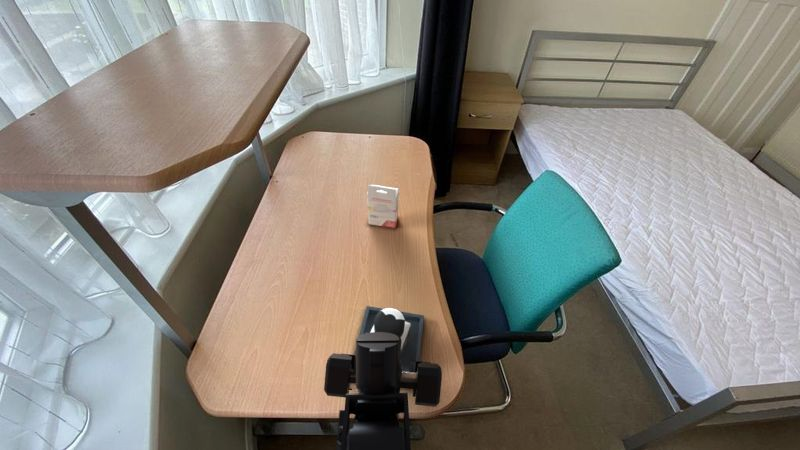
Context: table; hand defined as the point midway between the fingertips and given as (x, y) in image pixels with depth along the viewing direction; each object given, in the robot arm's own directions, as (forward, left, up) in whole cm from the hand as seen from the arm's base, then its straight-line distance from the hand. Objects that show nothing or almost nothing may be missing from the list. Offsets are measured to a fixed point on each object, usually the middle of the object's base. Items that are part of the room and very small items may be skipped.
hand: (386, 359), depth 61 cm
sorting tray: (+6, 0, -9) cm, 11 cm away
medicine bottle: (+6, +1, -8) cm, 10 cm away
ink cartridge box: (+45, +9, -9) cm, 47 cm away
